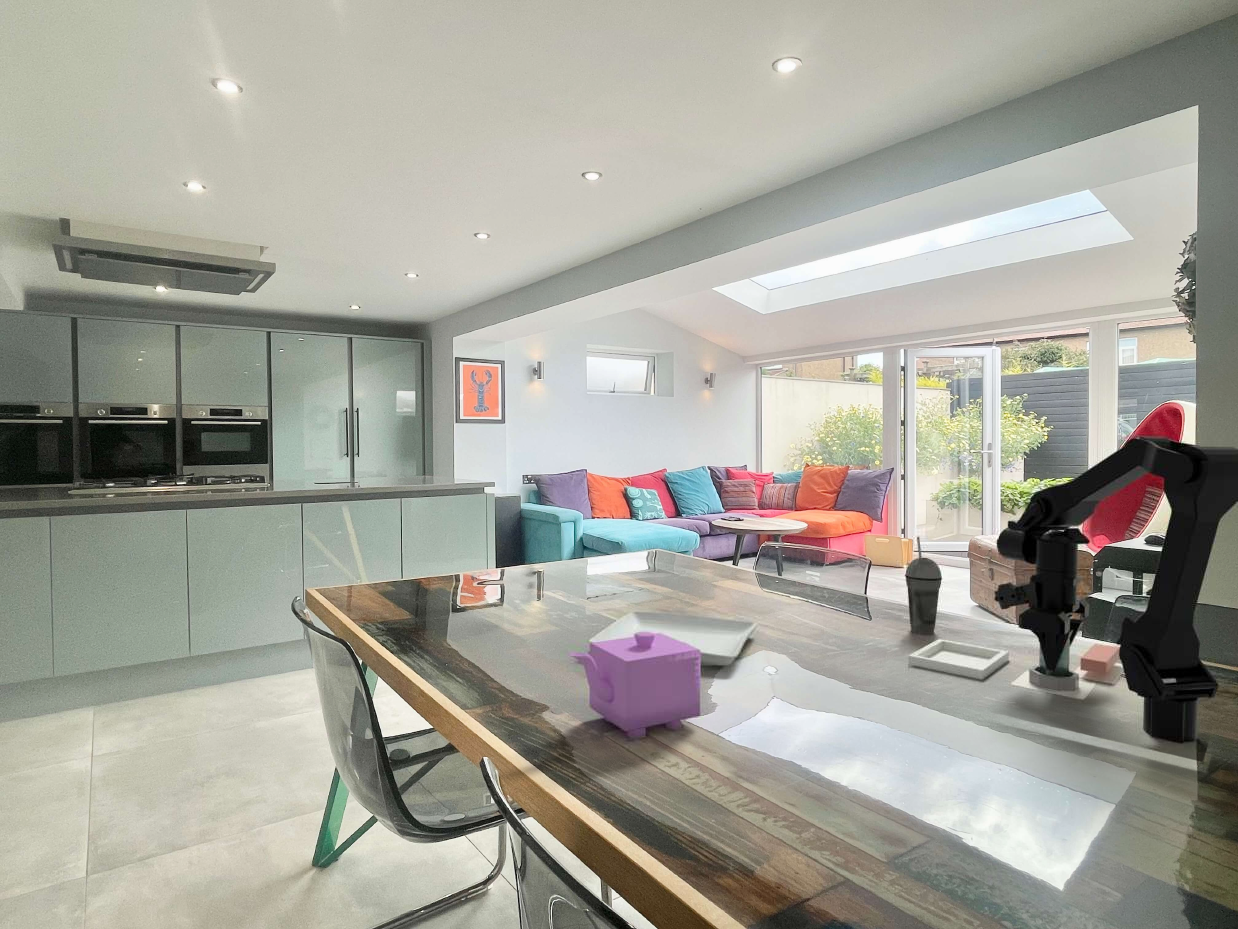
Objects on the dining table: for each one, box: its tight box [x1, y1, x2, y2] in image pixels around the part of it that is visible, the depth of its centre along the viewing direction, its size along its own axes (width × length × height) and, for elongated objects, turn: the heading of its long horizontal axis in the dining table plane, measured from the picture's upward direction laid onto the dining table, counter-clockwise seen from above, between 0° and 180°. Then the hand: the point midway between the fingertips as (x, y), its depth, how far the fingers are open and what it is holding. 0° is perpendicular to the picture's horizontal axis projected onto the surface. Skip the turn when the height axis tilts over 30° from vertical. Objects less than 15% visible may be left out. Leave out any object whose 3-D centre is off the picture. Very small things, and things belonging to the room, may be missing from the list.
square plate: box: [587, 610, 758, 667], centre depth 140 cm, size 27×27×4 cm
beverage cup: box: [904, 536, 943, 635], centre depth 152 cm, size 7×7×20 cm
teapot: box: [569, 632, 701, 739], centre depth 100 cm, size 20×10×12 cm, turn 120°
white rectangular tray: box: [907, 638, 1010, 680], centre depth 128 cm, size 15×12×2 cm
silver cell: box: [1038, 627, 1071, 677], centre depth 116 cm, size 4×4×10 cm
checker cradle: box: [1009, 662, 1124, 701], centre depth 121 cm, size 26×12×3 cm, turn 137°
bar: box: [1080, 643, 1120, 674], centre depth 123 cm, size 12×4×2 cm, turn 137°
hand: (1054, 666), depth 116 cm, fingers closed on silver cell, 4 cm apart
